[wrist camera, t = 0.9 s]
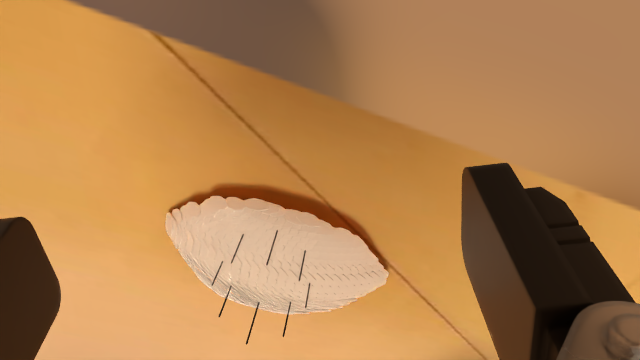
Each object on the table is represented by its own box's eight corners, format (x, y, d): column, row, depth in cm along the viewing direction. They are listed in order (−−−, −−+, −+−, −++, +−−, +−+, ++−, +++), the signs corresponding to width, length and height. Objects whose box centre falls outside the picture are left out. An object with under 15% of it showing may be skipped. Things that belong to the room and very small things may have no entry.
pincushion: (404, 223, 29) (411, 286, 24) (370, 316, 32) (370, 391, 27) (176, 163, 29) (134, 214, 24) (160, 262, 32) (119, 327, 26)
